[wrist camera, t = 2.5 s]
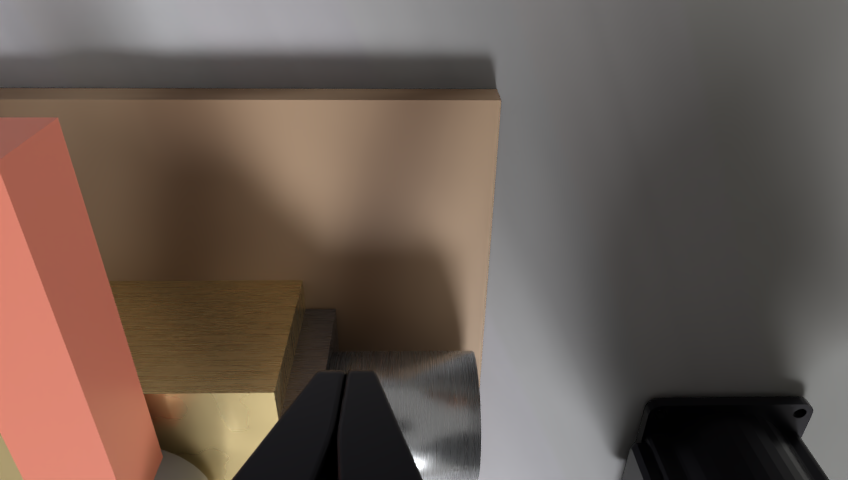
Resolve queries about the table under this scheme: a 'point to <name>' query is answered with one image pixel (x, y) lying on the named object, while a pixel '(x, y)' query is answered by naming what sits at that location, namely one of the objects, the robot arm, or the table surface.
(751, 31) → the table surface
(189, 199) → the board
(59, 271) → the lever
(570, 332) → the table surface
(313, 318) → the valve
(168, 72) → the table surface
